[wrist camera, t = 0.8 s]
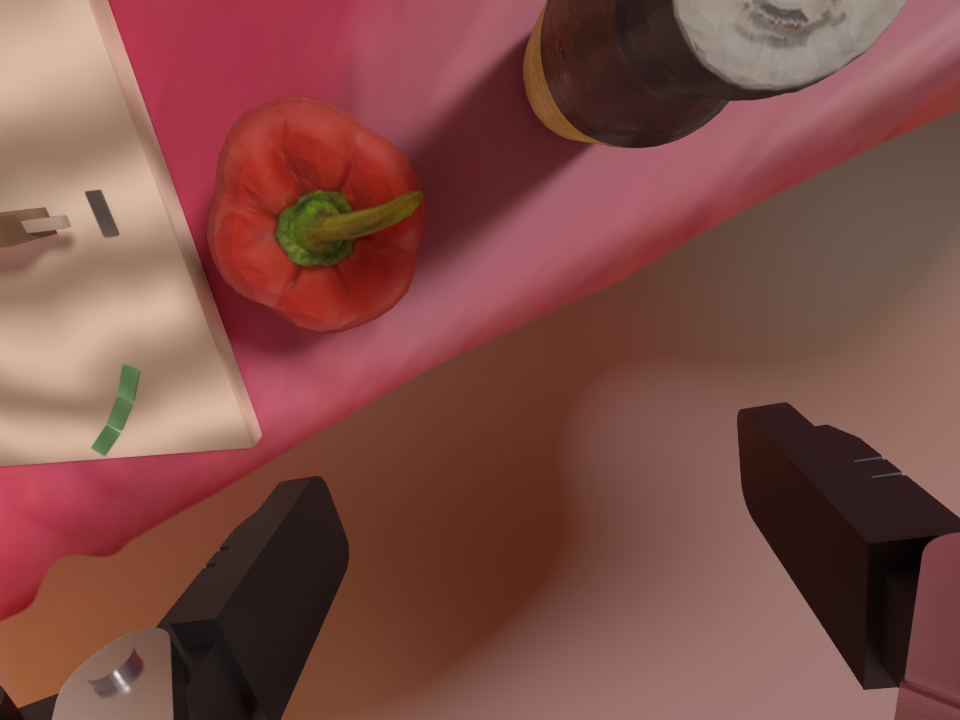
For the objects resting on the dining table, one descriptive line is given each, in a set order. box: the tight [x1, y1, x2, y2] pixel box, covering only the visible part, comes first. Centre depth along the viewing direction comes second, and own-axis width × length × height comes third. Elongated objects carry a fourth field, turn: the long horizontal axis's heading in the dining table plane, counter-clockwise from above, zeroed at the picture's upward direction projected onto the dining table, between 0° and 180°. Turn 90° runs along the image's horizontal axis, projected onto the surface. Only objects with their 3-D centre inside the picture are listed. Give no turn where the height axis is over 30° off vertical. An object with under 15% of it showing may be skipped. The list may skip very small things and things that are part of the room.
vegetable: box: [207, 96, 426, 333], centre depth 24 cm, size 11×10×10 cm
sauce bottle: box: [523, 0, 907, 148], centre depth 17 cm, size 6×6×20 cm
